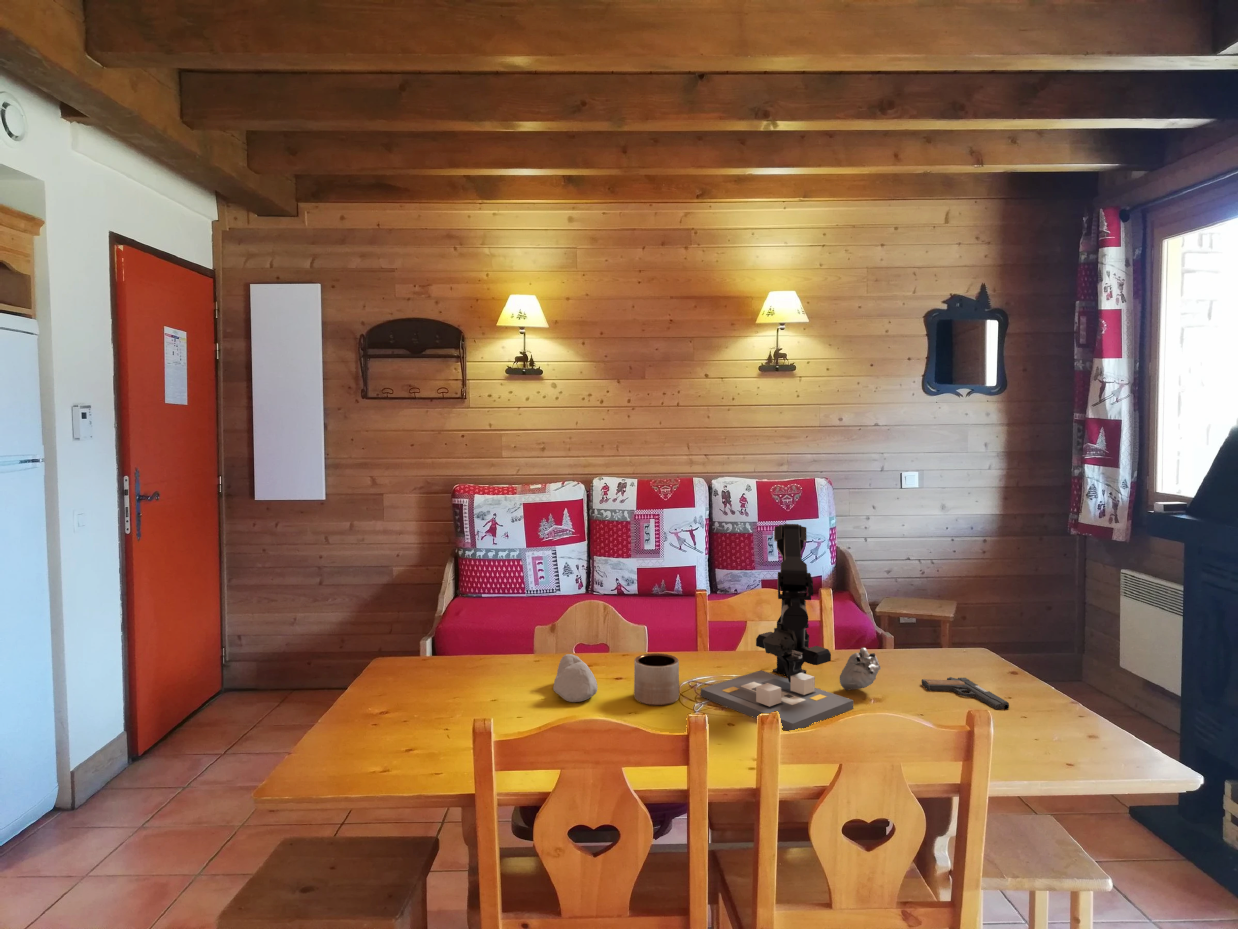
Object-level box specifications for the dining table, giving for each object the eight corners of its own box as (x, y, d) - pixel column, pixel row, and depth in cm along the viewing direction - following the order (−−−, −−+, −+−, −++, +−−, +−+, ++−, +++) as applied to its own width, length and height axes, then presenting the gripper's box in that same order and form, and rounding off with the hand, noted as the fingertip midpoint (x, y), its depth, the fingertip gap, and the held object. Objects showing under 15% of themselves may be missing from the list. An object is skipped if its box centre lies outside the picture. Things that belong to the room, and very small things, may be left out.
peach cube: (801, 686, 191) (801, 672, 190) (814, 691, 187) (814, 676, 187) (790, 690, 188) (790, 676, 188) (804, 695, 185) (804, 680, 185)
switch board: (761, 677, 204) (761, 669, 204) (853, 708, 183) (853, 699, 182) (700, 696, 191) (700, 687, 191) (792, 732, 169) (792, 722, 169)
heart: (880, 684, 198) (872, 637, 198) (887, 697, 189) (879, 648, 188) (839, 689, 199) (831, 643, 199) (844, 702, 190) (836, 654, 190)
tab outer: (767, 697, 183) (767, 683, 183) (781, 702, 180) (781, 687, 180) (756, 701, 181) (756, 686, 181) (769, 706, 178) (769, 691, 177)
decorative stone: (605, 693, 186) (581, 659, 186) (571, 718, 185) (546, 685, 184) (597, 674, 203) (575, 643, 203) (566, 698, 202) (543, 667, 202)
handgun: (964, 717, 180) (1011, 711, 182) (964, 707, 180) (1011, 702, 182) (917, 687, 199) (960, 682, 201) (917, 678, 199) (960, 673, 201)
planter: (676, 708, 183) (676, 668, 183) (630, 705, 186) (630, 665, 185) (681, 692, 194) (681, 654, 193) (638, 689, 196) (638, 651, 196)
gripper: (741, 616, 191) (739, 678, 193) (802, 634, 177) (800, 701, 178) (771, 609, 198) (770, 669, 199) (833, 626, 184) (831, 691, 185)
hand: (791, 682), depth 190 cm, fingers closed
